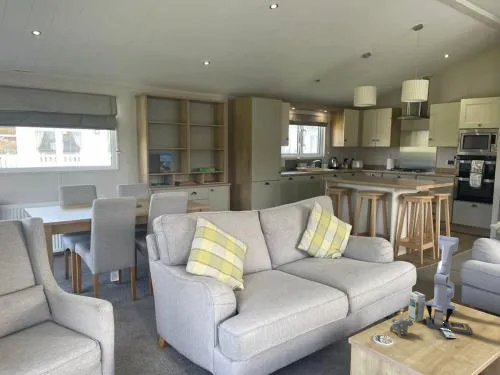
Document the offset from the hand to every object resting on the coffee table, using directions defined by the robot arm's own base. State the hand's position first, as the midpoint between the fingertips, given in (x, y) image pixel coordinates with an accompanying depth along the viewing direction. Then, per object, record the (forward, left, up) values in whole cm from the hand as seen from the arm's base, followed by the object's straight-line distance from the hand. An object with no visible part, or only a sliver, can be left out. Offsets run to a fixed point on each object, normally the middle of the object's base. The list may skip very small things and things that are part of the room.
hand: (438, 321), depth 200 cm
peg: (0, 0, -2) cm, 2 cm away
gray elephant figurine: (+16, -18, -3) cm, 24 cm away
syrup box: (-3, -11, -3) cm, 12 cm away
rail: (0, +5, -2) cm, 5 cm away
